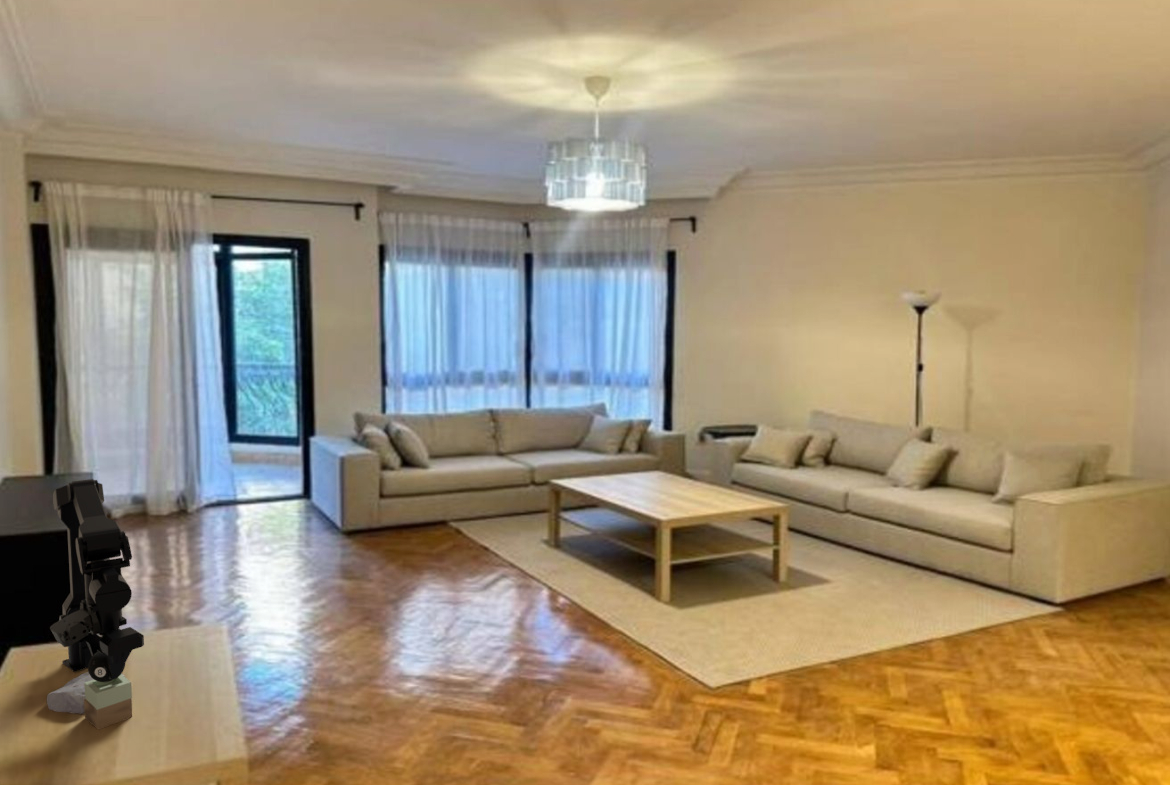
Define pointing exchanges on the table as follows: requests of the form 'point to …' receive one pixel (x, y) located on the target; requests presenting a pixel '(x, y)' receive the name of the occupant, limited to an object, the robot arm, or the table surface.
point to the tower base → (108, 713)
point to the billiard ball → (100, 668)
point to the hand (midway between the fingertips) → (107, 673)
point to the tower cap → (107, 692)
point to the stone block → (70, 696)
